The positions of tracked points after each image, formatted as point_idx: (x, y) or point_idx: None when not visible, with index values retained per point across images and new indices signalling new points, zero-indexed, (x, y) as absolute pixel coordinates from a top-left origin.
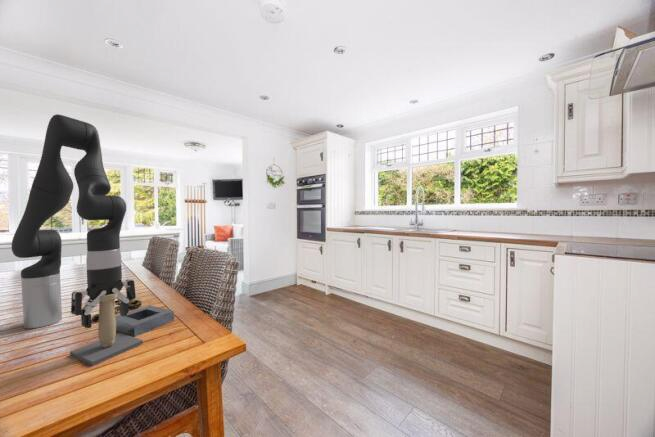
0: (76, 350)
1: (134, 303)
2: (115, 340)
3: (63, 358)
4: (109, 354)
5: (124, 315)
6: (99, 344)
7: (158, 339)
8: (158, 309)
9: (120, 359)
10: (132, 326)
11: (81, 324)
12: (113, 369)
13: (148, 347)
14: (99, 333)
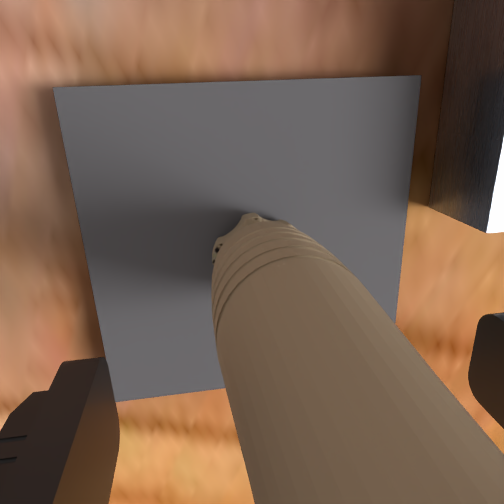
0: (91, 121)
1: None
2: (321, 212)
3: (16, 104)
4: (204, 388)
5: (477, 395)
6: (233, 172)
7: (444, 374)
8: None
9: (227, 428)
10: (482, 203)
11: (9, 415)
12: (167, 490)
13: None
14: (212, 315)
